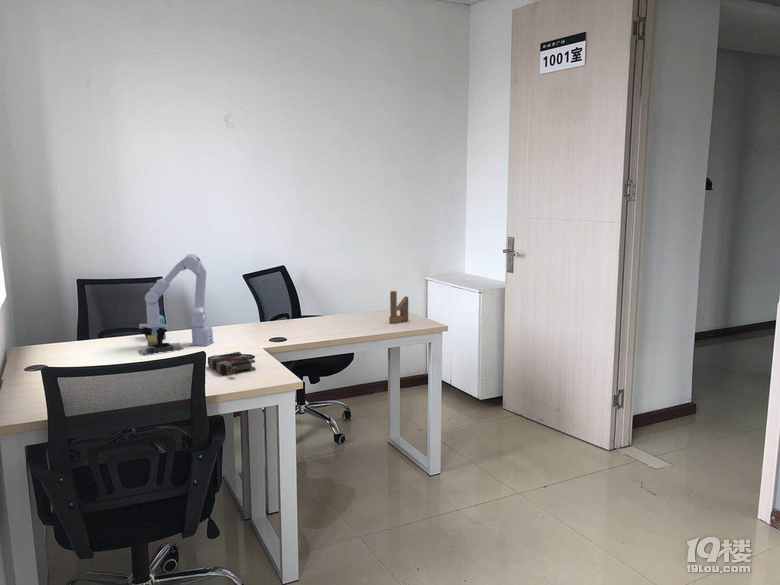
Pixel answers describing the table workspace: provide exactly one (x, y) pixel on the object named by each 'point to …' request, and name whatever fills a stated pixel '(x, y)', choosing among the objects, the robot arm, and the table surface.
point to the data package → (160, 323)
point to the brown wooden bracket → (398, 308)
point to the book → (231, 363)
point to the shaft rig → (160, 348)
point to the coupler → (152, 339)
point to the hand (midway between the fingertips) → (155, 343)
